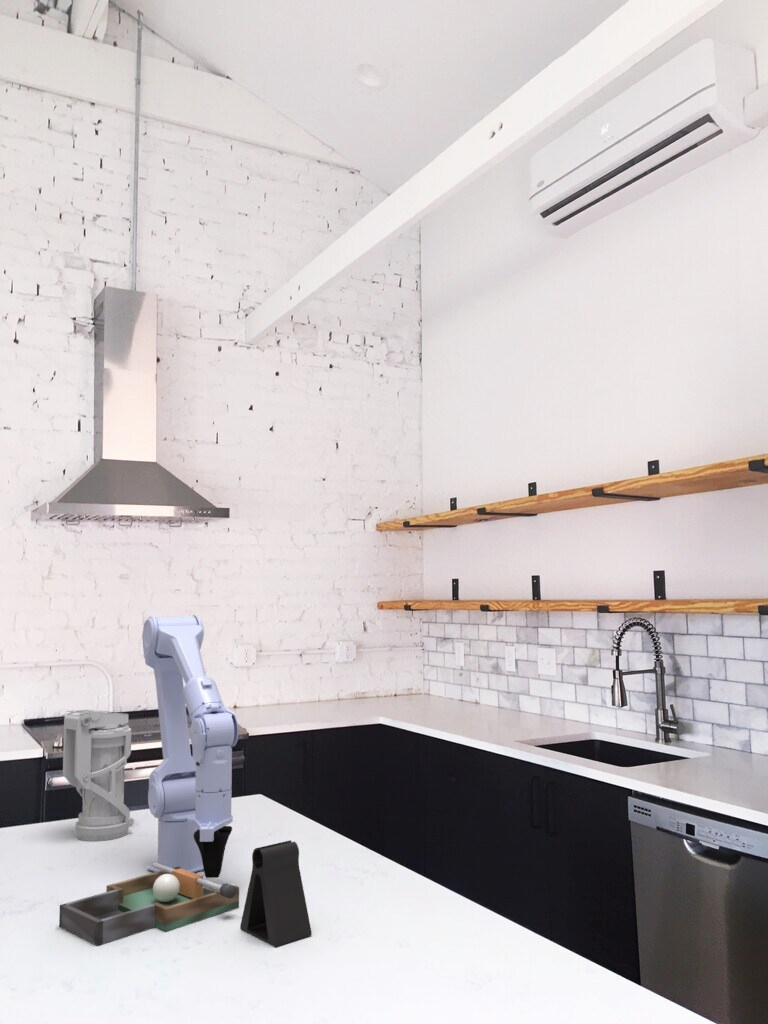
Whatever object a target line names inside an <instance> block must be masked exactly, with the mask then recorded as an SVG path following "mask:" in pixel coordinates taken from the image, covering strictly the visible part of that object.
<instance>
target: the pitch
mask: <svg viewBox="0 0 768 1024" xmlns="http://www.w3.org/2000/svg"><path fill="white" fill-rule="evenodd" d="M180 868H181V867H179V866H177V867H173V869H175V870H176V869H180ZM164 874H170V873H167V872H164V871H159V872H152V873H148V874H144V875H140V876H137V877H134V878H133V877H132V878H129V879H126V880H122V881H119V882H115V883H112V884H108V885H106V892H102V893H98V894H95V895H91V896H88V897H84V898H80V899H77V900H74V901H70V902H69V901H68V902H66V903H63V904H59V922H58V923H59V925H58V927H59V928H61V929H63V930H65V931H67V932H70V933H71V934H73V935H75V936H77V937H79V938H80V939H83V940H85V941H88V942H89V943H91V944H93V945H95V946H101V945H105V944H107V943H110V942H114V941H116V940H119V939H120V940H121V939H122V938H126V937H128V936H131V935H135V934H138V933H141V932H144V931H148V930H149V929H153V928H156V929H158V930H161V931H162V932H165V933H166V932H169V931H172V930H176V929H178V928H182V927H184V926H186V925H189V924H193V923H197V922H199V921H202V920H205V919H208V918H211V917H214V916H217V915H220V914H223V913H226V912H229V911H232V910H235V909H238V908H239V907H240V886H239V885H234V886H235V887H236V894H235V896H234V897H233V898H227V897H224V896H222V895H221V894H220V891H218V890H216V891H214V890H211V889H208V888H205V887H203V896H201V897H198V898H195V899H193V898H191V897H188V896H185V895H183V894H180V893H178V895H177V896H176V898H175V899H173V900H172V901H170V902H160V901H158V900H157V899H156V898H155V896H154V894H153V885H154V883H155V881H156V879H157V878H158V877H160V876H161V875H164Z"/></svg>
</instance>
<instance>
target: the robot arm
mask: <svg viewBox="0 0 768 1024" xmlns="http://www.w3.org/2000/svg"><path fill="white" fill-rule="evenodd" d="M204 629H205V628H204V623H203V621H202V619H201V618H200V617H199V615H196V614H194V615H185V616H182V615H181V616H179V615H178V616H177V615H176V616H153V615H150V616H148V617H147V619H146V620H145V621H144V623H143V629H142V635H141V638H142V639H141V640H142V648H143V649H142V650H143V658H144V661H145V662H144V663H145V665H146V666H148V667H150V668H152V669H153V673H154V678H155V679H154V680H155V689H156V698H157V706H158V707H157V709H158V718H159V728H160V730H159V731H160V738H161V739H160V741H161V748H162V749H161V750H162V758H163V759H162V761H161V763H160V764H159V765H157V766H156V767H155V768H154V769H153V770H152V772H151V773H150V775H149V778H148V791H147V802H148V808H149V811H150V813H151V815H152V816H153V817H154V818H157V819H158V821H157V822H158V823H157V863H158V864H161V865H164V866H167V867H170V868H173V867H177V866H179V867H181V869H184V870H187V871H190V872H193V873H197V872H201V871H203V873H204V875H205V878H206V879H211V878H212V879H216V878H219V877H220V876H221V875H220V874H221V872H222V868H223V861H224V856H225V851H226V846H227V844H228V840H229V838H230V835H231V833H232V831H233V827H232V826H230V824H231V823H232V822H233V820H234V819H233V815H232V793H233V792H232V788H233V787H232V786H233V785H232V782H233V781H232V779H233V778H232V777H233V773H232V771H233V767H232V765H233V760H232V759H233V747H235V746H236V745H237V743H238V741H239V740H238V739H239V723H238V719H237V717H236V714H235V712H234V711H233V710H230V708H229V707H228V706H225V704H224V702H223V699H222V697H221V695H220V692H219V688H218V685H217V684H216V681H215V680H214V679H213V678H212V677H208V676H207V674H206V670H205V665H204V661H203V658H202V654H201V648H202V644H203V641H204V635H205V633H204V631H205V630H204ZM184 683H185V685H184ZM187 712H188V715H189V719H190V720H191V724H190V730H189V725H188V716H187ZM190 742H191V744H190ZM191 747H192V751H191ZM191 752H192V753H191ZM146 869H147V870H149V871H151V872H152V873H155V872H159V871H162V870H159V869H156V868H153V864H151V865H147V867H146Z"/></svg>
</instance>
